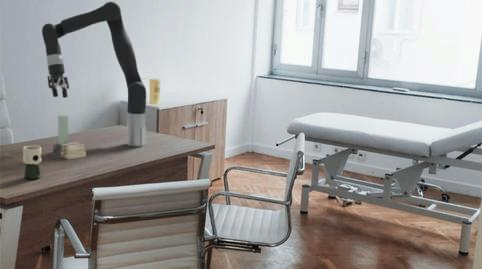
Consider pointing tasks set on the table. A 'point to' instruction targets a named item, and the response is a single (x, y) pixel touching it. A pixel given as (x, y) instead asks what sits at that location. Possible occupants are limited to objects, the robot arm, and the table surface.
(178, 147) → the table surface
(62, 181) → the table surface
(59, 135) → the slat
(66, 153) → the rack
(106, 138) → the table surface
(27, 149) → the character mug
